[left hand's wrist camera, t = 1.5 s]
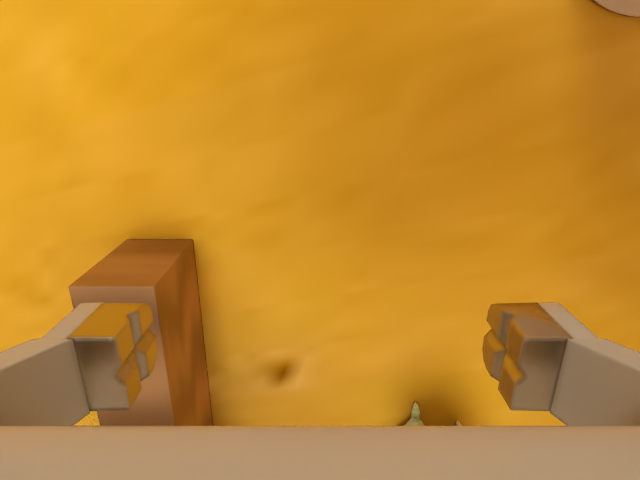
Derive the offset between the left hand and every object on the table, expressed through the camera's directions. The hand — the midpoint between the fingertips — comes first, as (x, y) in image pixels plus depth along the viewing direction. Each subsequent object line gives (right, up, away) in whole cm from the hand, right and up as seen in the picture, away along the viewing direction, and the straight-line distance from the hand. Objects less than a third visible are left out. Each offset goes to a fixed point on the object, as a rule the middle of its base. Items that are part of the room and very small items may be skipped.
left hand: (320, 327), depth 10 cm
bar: (-14, -9, +31) cm, 35 cm away
